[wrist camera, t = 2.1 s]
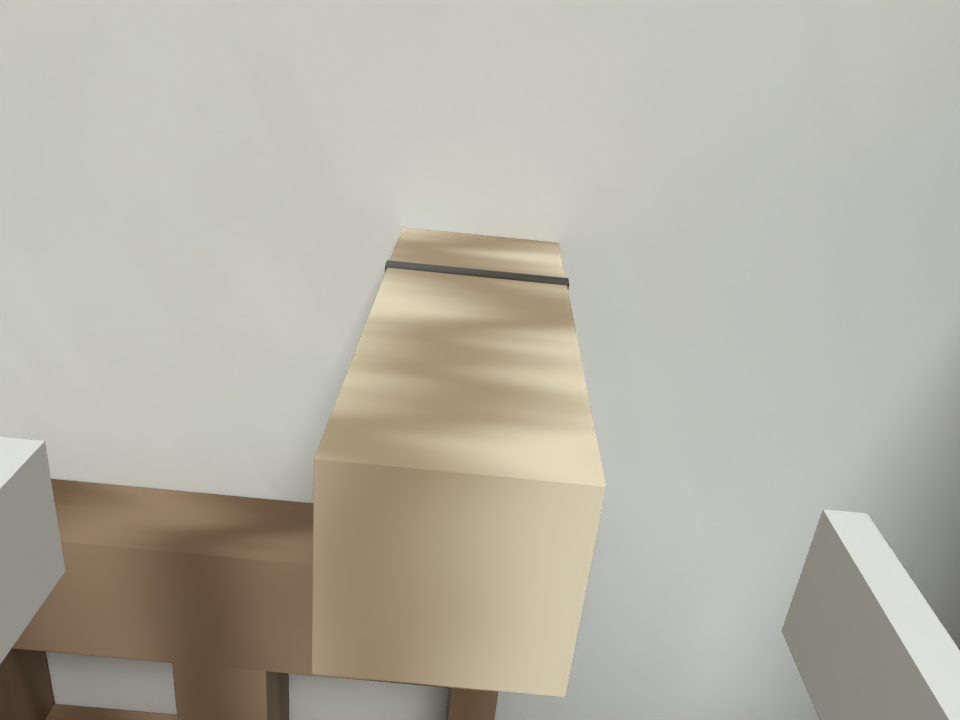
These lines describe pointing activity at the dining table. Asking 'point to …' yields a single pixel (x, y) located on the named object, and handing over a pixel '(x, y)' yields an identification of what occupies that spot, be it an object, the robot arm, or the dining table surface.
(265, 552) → the walnut board
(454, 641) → the beech peg
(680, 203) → the dining table surface
